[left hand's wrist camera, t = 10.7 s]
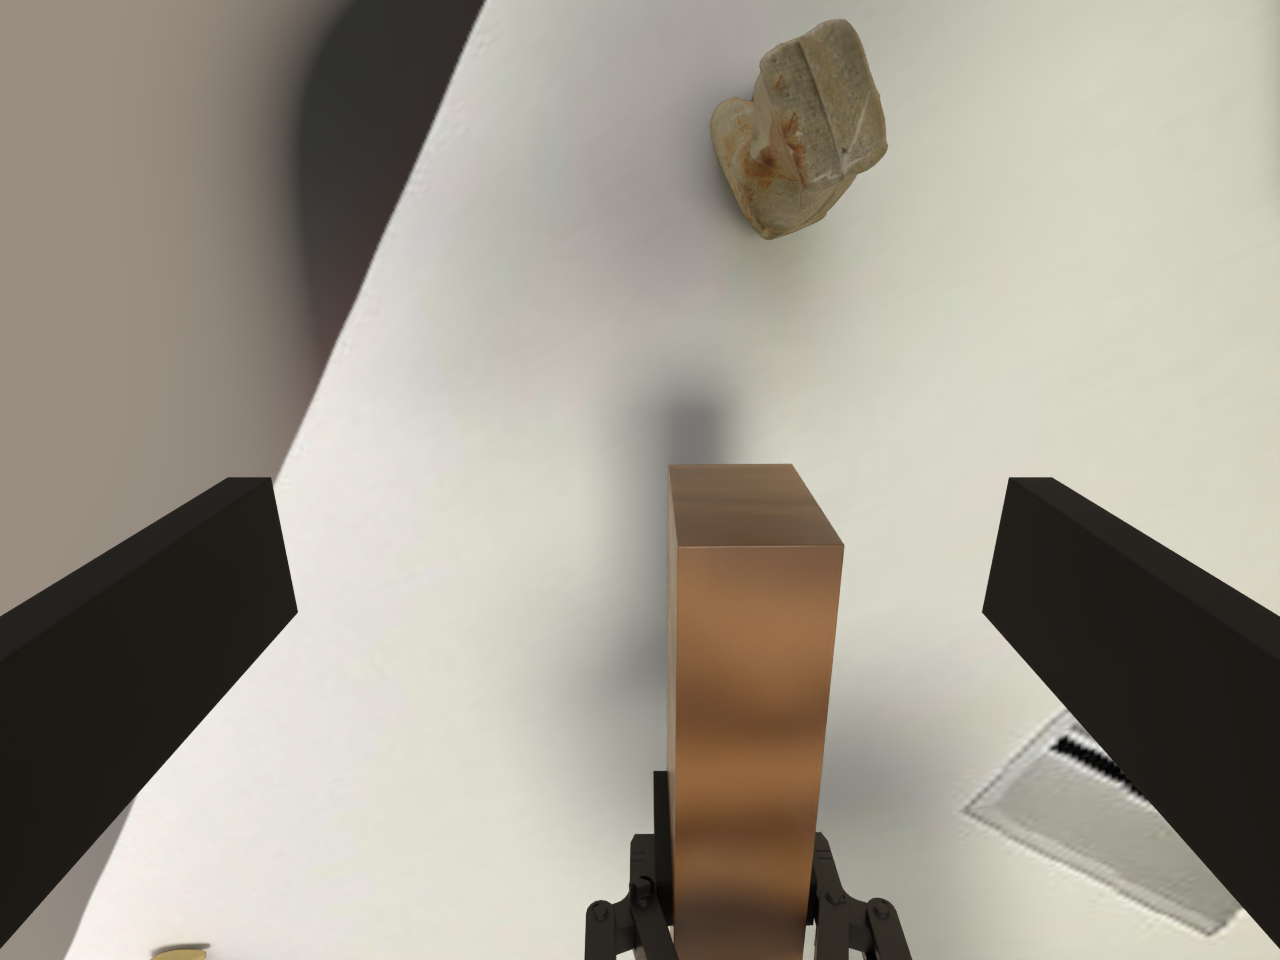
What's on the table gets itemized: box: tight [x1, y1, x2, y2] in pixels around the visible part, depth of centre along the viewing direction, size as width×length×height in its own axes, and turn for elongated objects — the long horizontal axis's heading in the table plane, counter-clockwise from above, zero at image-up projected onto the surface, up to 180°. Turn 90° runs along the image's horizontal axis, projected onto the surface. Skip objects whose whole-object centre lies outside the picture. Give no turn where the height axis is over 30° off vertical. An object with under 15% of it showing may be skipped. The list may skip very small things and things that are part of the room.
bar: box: [667, 464, 844, 960], centre depth 30 cm, size 22×6×8 cm, turn 1°
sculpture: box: [711, 19, 888, 240], centre depth 30 cm, size 6×7×15 cm
